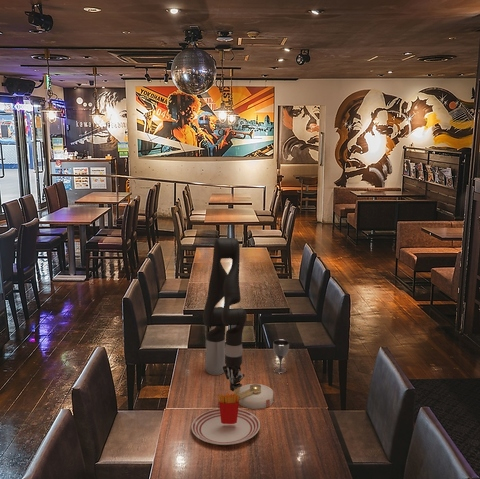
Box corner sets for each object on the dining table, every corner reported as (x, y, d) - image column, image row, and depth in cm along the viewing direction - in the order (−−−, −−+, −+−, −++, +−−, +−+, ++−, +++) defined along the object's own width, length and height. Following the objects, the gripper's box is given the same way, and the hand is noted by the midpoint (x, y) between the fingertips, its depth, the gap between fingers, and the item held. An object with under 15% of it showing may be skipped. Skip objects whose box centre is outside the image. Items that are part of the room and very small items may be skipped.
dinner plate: (198, 455, 198) (198, 447, 198) (186, 418, 224) (186, 411, 224) (269, 445, 206) (269, 437, 205) (248, 410, 232) (249, 403, 231)
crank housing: (230, 399, 241) (230, 390, 240) (256, 388, 251) (256, 380, 250) (254, 413, 228) (254, 404, 228) (281, 401, 239) (281, 393, 238)
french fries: (238, 419, 218) (239, 391, 216) (238, 424, 214) (239, 396, 212) (218, 419, 218) (218, 391, 216) (217, 424, 214) (217, 396, 212)
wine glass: (269, 368, 273) (270, 340, 270) (283, 366, 276) (284, 338, 273) (277, 374, 266) (278, 346, 263) (291, 372, 269) (292, 343, 266)
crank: (255, 387, 242) (255, 374, 241) (263, 391, 239) (263, 377, 238) (229, 398, 232) (229, 384, 231) (237, 402, 229) (237, 388, 227)
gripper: (250, 355, 229) (249, 393, 232) (230, 346, 239) (230, 382, 242) (236, 360, 224) (235, 398, 227) (217, 350, 234) (217, 387, 237)
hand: (233, 390), depth 235 cm, fingers closed
